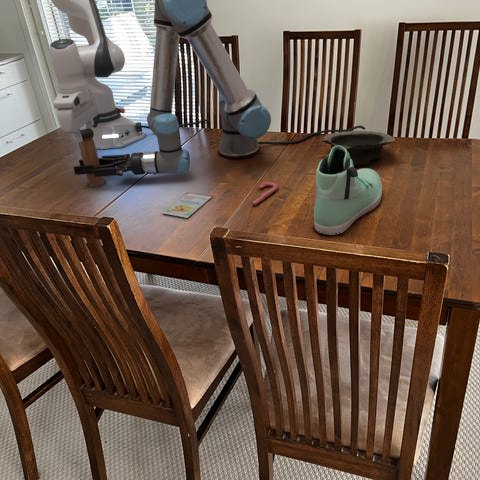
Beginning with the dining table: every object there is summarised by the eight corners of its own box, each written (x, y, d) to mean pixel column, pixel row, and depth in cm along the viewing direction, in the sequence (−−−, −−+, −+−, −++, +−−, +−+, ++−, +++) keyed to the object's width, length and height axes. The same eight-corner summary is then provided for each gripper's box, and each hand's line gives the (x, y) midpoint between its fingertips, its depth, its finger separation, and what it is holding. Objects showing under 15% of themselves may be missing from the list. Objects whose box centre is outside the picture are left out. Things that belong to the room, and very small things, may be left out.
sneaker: (389, 187, 148) (396, 123, 138) (356, 242, 123) (361, 168, 112) (346, 181, 154) (350, 119, 144) (306, 232, 129) (307, 161, 118)
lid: (72, 139, 157) (71, 134, 156) (81, 133, 161) (80, 128, 161) (88, 139, 155) (87, 134, 154) (97, 133, 160) (95, 128, 159)
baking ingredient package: (162, 212, 143) (188, 192, 155) (162, 213, 144) (188, 193, 155) (187, 216, 140) (211, 196, 151) (187, 218, 140) (212, 197, 151)
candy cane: (239, 202, 147) (239, 198, 146) (265, 183, 157) (265, 179, 156) (255, 207, 144) (255, 202, 143) (281, 187, 154) (281, 183, 153)
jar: (104, 185, 166) (92, 135, 156) (89, 187, 164) (76, 138, 155) (103, 179, 170) (92, 130, 161) (89, 182, 169) (76, 133, 160)
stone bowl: (352, 176, 156) (352, 149, 152) (308, 158, 177) (307, 134, 172) (409, 157, 165) (411, 131, 161) (361, 143, 185) (362, 119, 181)
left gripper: (79, 87, 160) (89, 127, 168) (50, 104, 143) (62, 148, 150) (97, 86, 159) (106, 127, 167) (69, 104, 142) (81, 148, 149)
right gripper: (140, 184, 157) (71, 188, 158) (151, 163, 172) (87, 166, 174) (136, 163, 153) (65, 167, 154) (147, 143, 169) (82, 147, 170)
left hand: (85, 137), depth 158 cm, fingers closed on lid, 5 cm apart
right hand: (77, 167), depth 164 cm, fingers closed on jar, 5 cm apart
